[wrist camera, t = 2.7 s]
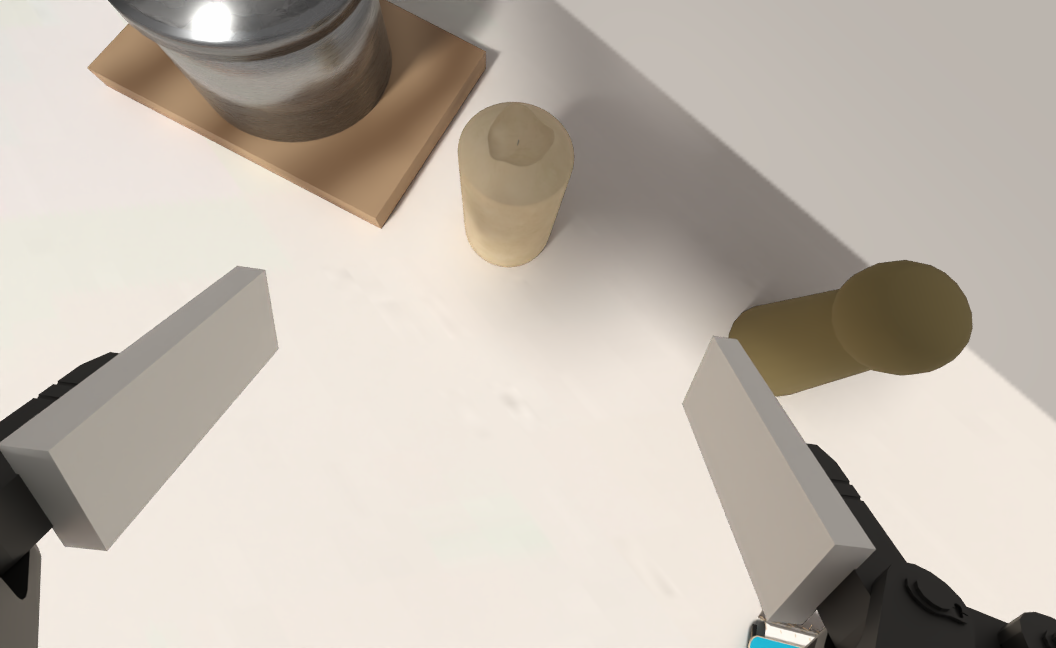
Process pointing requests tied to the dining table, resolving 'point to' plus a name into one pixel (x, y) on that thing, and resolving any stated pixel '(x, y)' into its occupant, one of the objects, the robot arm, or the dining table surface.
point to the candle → (512, 180)
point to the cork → (858, 328)
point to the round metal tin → (275, 59)
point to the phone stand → (781, 636)
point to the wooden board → (344, 158)
